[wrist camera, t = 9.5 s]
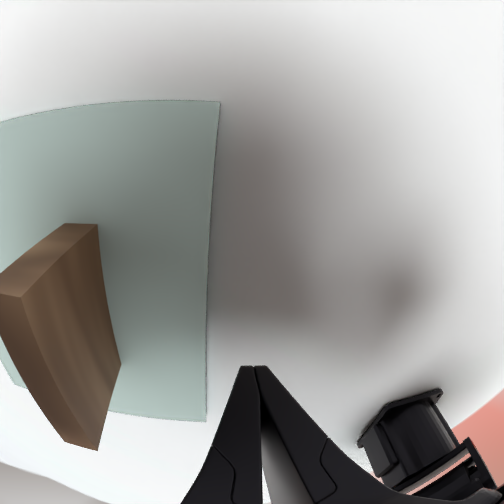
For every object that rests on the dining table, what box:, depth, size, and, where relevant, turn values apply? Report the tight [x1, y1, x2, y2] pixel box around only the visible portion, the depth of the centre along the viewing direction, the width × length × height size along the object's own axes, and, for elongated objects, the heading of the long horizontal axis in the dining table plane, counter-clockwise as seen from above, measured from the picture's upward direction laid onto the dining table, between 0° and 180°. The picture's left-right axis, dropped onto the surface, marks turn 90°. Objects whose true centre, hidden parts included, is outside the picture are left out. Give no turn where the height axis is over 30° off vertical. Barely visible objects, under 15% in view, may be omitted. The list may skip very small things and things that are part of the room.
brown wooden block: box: [0, 223, 122, 451], centre depth 8 cm, size 2×7×5 cm, turn 174°
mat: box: [0, 100, 220, 422], centre depth 10 cm, size 14×16×1 cm
